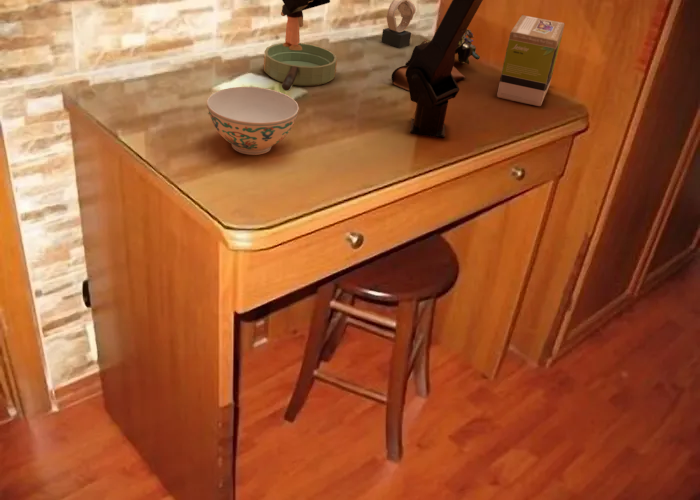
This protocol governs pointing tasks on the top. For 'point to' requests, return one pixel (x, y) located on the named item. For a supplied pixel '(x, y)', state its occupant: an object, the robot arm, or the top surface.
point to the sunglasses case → (401, 80)
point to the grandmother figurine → (293, 30)
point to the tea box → (530, 60)
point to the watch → (398, 34)
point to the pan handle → (290, 78)
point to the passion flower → (465, 48)
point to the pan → (301, 64)
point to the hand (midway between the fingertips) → (287, 12)
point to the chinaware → (252, 117)
